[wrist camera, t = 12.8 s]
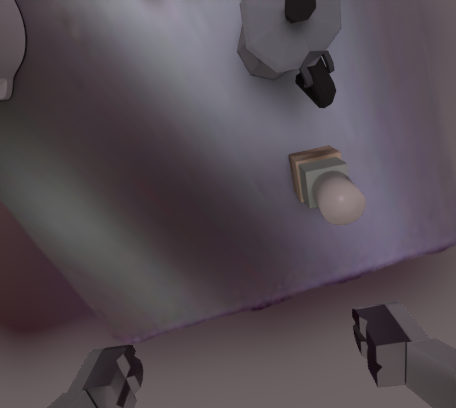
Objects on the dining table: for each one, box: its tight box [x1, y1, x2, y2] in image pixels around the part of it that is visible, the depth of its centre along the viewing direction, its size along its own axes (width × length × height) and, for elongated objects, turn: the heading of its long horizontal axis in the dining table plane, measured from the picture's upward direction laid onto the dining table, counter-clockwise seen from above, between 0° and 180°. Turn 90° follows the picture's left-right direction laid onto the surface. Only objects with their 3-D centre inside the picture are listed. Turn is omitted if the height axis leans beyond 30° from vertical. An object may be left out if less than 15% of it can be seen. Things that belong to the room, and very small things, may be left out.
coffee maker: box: [237, 0, 341, 108], centre depth 28 cm, size 15×9×18 cm, turn 33°
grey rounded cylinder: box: [312, 171, 366, 225], centre depth 32 cm, size 5×5×5 cm
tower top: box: [298, 157, 348, 209], centre depth 36 cm, size 5×5×4 cm
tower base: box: [289, 145, 341, 202], centre depth 40 cm, size 6×6×5 cm
